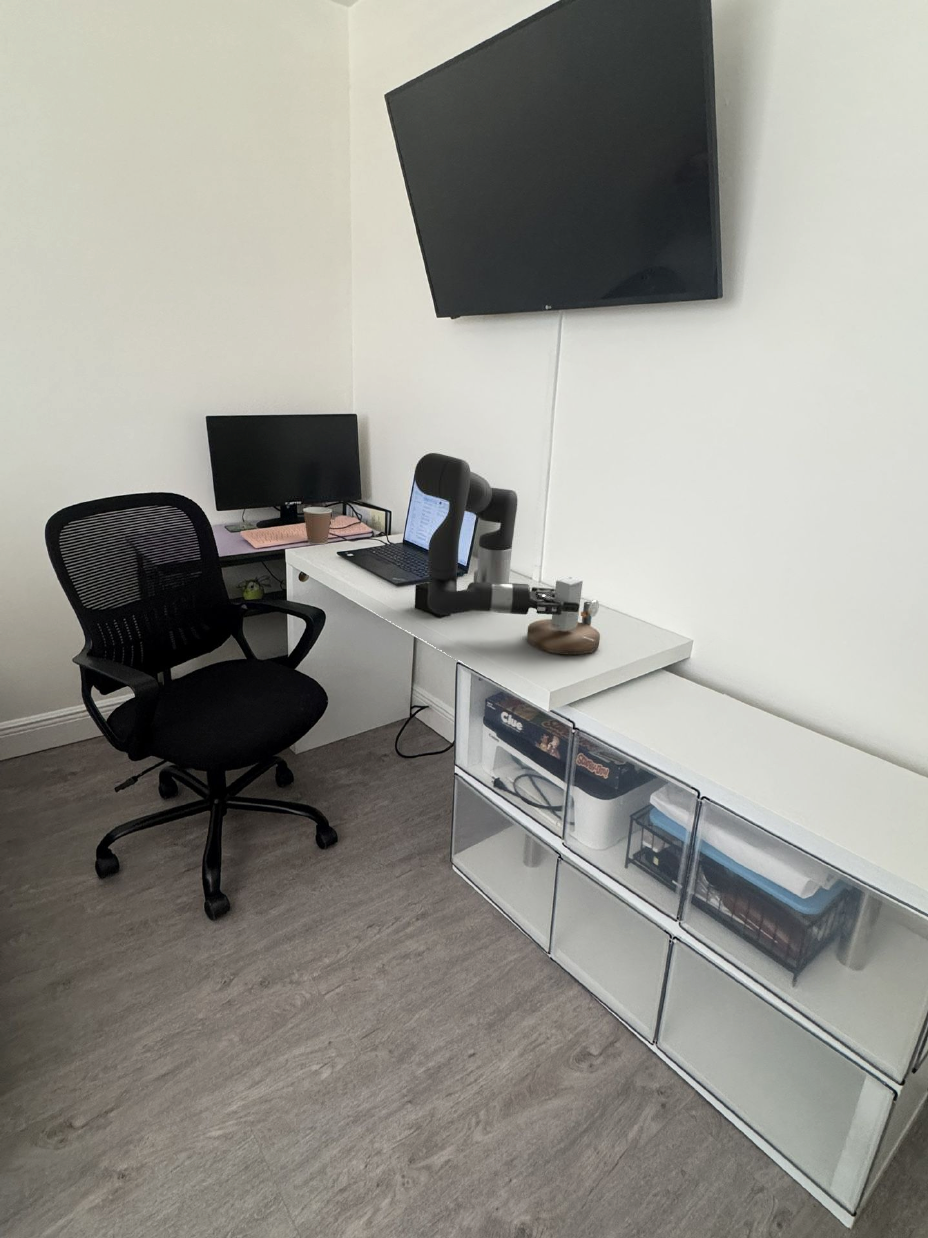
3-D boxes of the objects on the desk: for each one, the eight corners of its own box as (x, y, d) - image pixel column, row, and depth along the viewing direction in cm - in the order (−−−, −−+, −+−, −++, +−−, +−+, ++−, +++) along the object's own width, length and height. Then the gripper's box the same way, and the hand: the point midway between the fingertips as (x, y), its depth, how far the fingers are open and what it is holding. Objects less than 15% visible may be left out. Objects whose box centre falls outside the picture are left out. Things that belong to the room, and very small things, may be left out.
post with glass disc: (586, 636, 182) (590, 602, 178) (576, 633, 183) (580, 599, 180) (595, 631, 185) (599, 598, 182) (585, 628, 187) (589, 595, 184)
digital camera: (454, 615, 191) (456, 590, 189) (439, 619, 187) (441, 594, 185) (429, 604, 198) (430, 581, 195) (414, 608, 194) (415, 584, 192)
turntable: (512, 639, 174) (513, 630, 173) (551, 622, 188) (552, 613, 187) (575, 660, 164) (577, 650, 163) (611, 641, 177) (612, 632, 176)
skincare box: (564, 632, 171) (571, 584, 167) (549, 627, 173) (555, 580, 169) (578, 626, 175) (584, 580, 171) (563, 621, 178) (568, 576, 174)
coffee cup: (336, 540, 260) (336, 508, 256) (325, 546, 251) (324, 513, 247) (310, 537, 262) (310, 505, 258) (298, 543, 253) (297, 510, 249)
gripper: (513, 592, 163) (583, 597, 164) (508, 575, 177) (572, 579, 178) (510, 622, 166) (579, 626, 167) (505, 603, 180) (569, 607, 180)
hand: (575, 602), depth 172 cm, fingers closed on skincare box, 7 cm apart
